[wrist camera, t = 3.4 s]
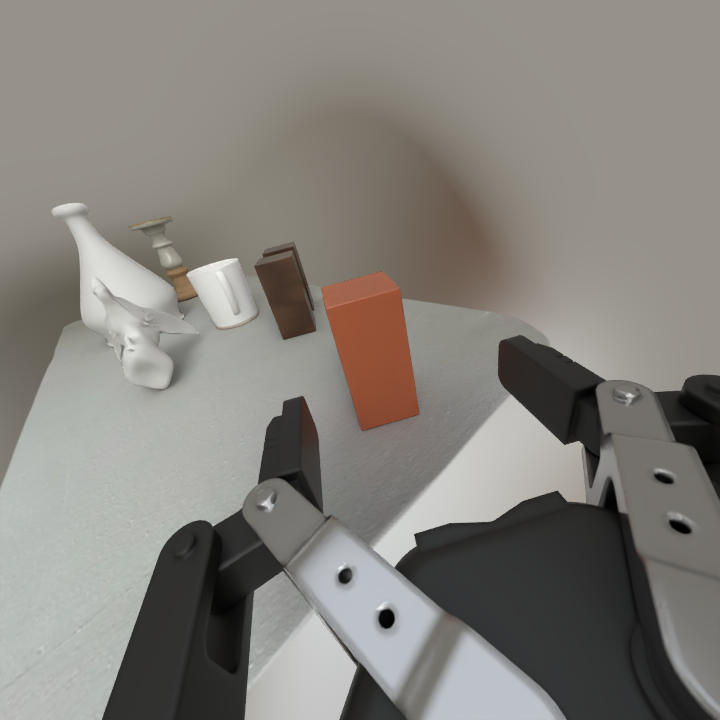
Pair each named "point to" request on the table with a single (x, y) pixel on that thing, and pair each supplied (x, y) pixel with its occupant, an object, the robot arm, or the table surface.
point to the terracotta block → (373, 347)
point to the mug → (224, 293)
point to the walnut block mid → (286, 294)
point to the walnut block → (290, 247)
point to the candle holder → (168, 256)
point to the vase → (112, 273)
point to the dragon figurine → (139, 337)
